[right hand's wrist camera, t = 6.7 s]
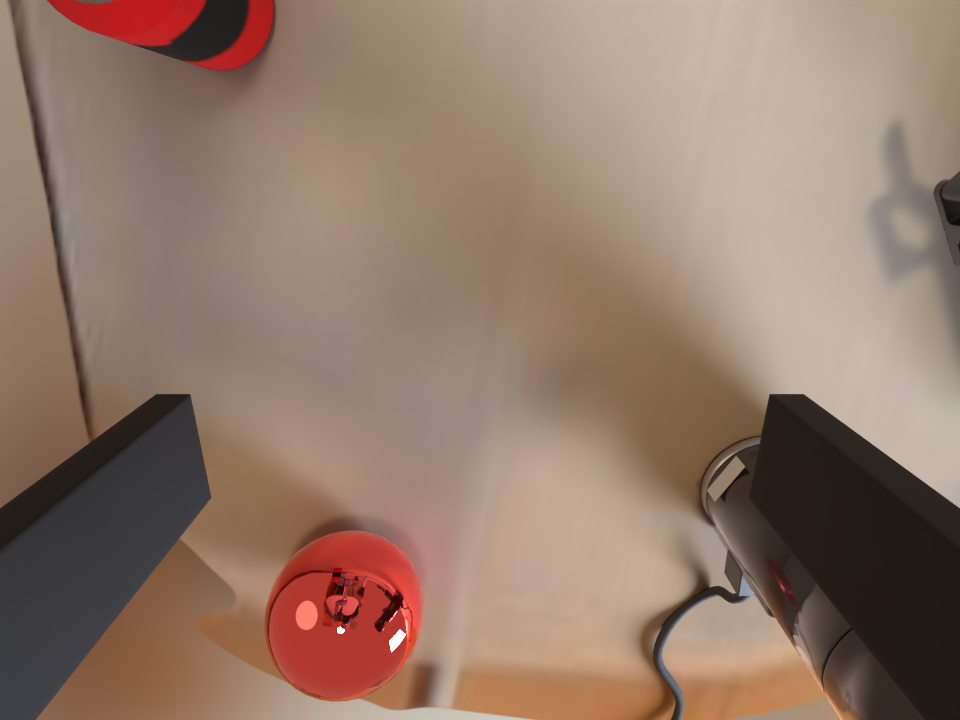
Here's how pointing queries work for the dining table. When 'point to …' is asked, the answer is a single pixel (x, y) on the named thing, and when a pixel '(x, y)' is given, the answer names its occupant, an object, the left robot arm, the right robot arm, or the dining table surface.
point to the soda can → (180, 27)
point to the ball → (344, 615)
